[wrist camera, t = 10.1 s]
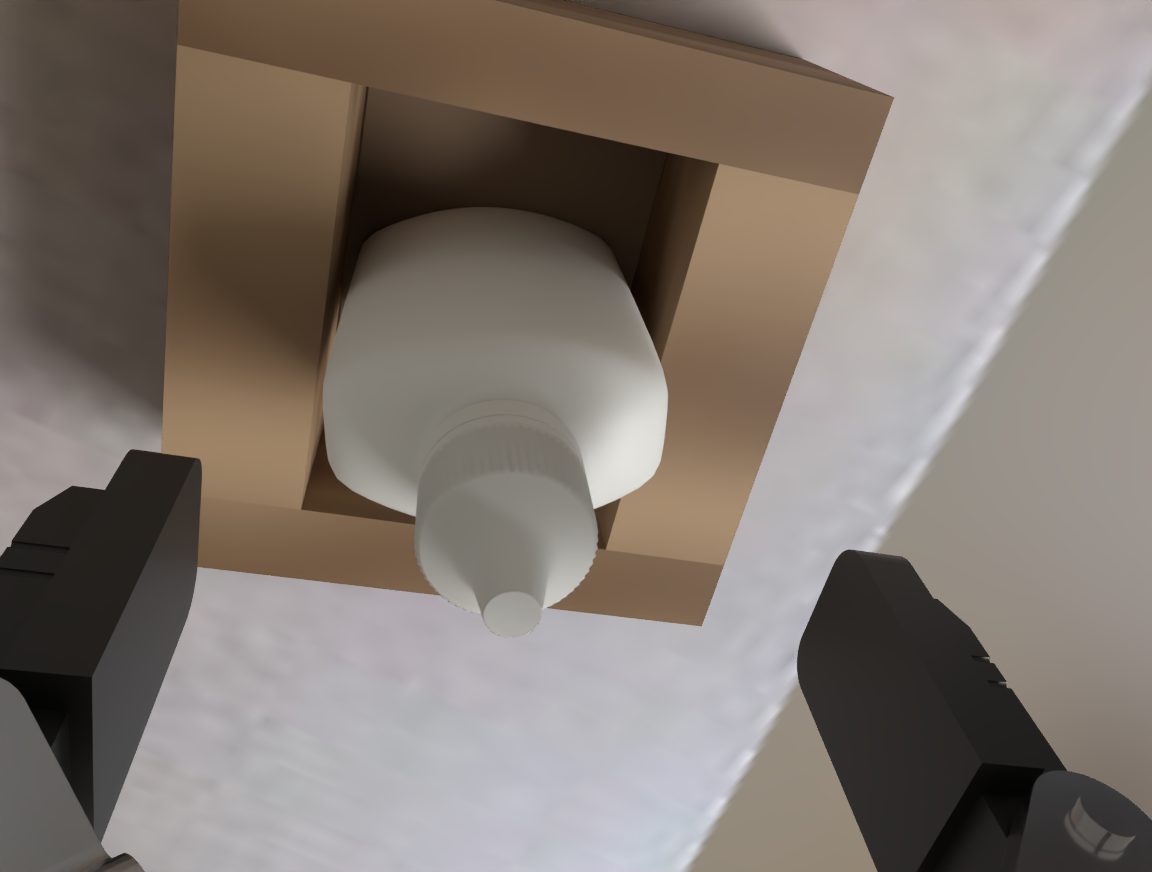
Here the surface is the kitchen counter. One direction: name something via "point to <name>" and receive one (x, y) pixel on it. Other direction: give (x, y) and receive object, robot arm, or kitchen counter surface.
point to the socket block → (506, 180)
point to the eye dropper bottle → (494, 400)
